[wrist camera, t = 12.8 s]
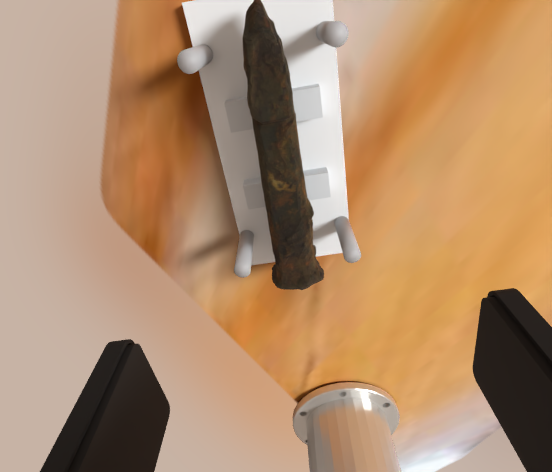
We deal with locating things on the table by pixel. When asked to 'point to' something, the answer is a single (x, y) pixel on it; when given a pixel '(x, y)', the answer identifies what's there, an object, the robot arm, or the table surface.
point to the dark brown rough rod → (279, 153)
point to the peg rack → (307, 104)
